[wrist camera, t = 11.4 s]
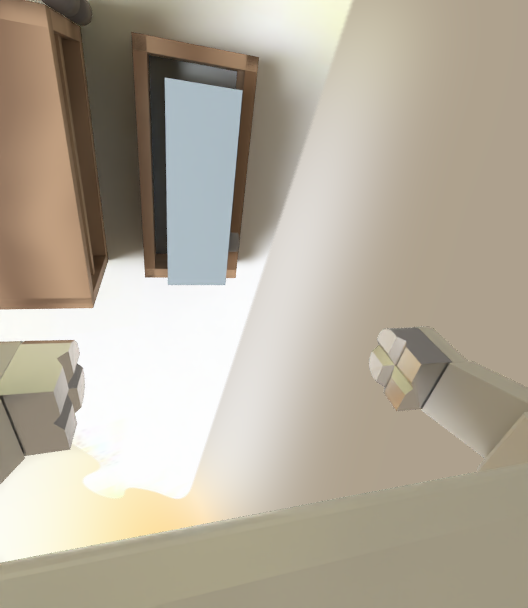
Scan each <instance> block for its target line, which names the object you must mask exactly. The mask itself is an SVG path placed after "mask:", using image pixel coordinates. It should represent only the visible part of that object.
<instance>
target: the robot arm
mask: <svg viewBox="0 0 528 608" xmlns="http://www.w3.org/2000/svg"><path fill="white" fill-rule="evenodd" d="M377 341H378V344H379V345H378V346H377V347H376V348H375V349H374V350H373V351H372V353H371V356H370V358H369V368H370V371H371V374H372V376H373V378H374V379H375V381H376V382H377V383H379V384H381V385H382V386H384V387H385V388H384V394H385V396H386V397H387V398H388V400H389V401H390V403H391V404H392V406H393V407H394V408H395V410H396V411H405V410H416V409H422V411H423V412H424V413H426V414H427V415H428V416H429V417H431V418H432V419H433V420H435V421H436V422H437V423H439V424H440V425H441V426H443V427H444V428H445V429H447V430H448V431H449V432H451V433H452V434H453V435H454V436H456V437H457V438H458V439H460V440H461V441H462V442H464V443H465V444H466V445H468V446H469V447H470V448H472V449H473V450H474V451H476V452H477V453H478V454H479V455H481V456H482V457H483V458H485V459H484V461H483V462H482V463H481V464H480V465H479V467H478V468H477V472H474V473H469V474H464V475H458V476H453V477H448V478H443V479H437V480H432V481H427V482H422V483H416V484H412V485H406V486H401V487H395V488H390V489H385V490H379V491H374V492H369V493H364V494H358V495H353V496H348V497H343V498H337V499H332V500H327V501H322V502H316V503H311V504H306V505H301V506H296V507H290V508H285V509H280V510H275V511H269V512H265V513H259V514H254V515H249V516H243V517H238V518H233V519H228V520H223V521H217V522H212V523H207V524H201V525H197V526H191V527H186V528H180V529H176V530H170V531H165V532H159V533H155V534H150V535H144V536H139V537H133V538H128V539H123V540H118V541H113V542H107V543H102V544H97V545H91V546H87V547H81V548H76V549H71V550H65V551H60V552H55V553H50V554H44V555H39V556H34V557H29V558H23V559H18V560H13V561H8V562H2V563H0V608H528V387H525V386H524V385H521V384H519V383H517V382H515V381H513V380H511V379H509V378H507V377H505V376H503V375H501V374H499V373H497V372H494V371H492V370H490V369H488V368H486V367H484V366H482V365H480V364H478V363H476V362H473V361H471V362H470V361H468V360H467V359H466V358H464V356H462V355H461V354H460V353H459V352H458V351H457V350H456V349H455V348H454V347H453V346H452V345H451V344H450V343H449V342H448V341H446V340H445V339H444V338H443V337H442V336H441V335H440V334H439V333H438V332H437V331H436V330H435V329H434V328H431V327H429V326H423V327H413V328H391V329H383V330H382V331H381V332H380V334H379V336H378V338H377ZM79 355H80V352H79V348H78V344H77V342H76V341H75V340H53V341H24V342H23V341H14V342H0V484H1V483H2V482H3V481H4V480H5V479H6V477H8V476H9V474H10V473H11V472H12V471H13V470H14V469H15V468H16V467H17V466H18V465H19V464H20V463H21V462H22V461H23V460H24V459H25V457H24V456H27V455H34V454H41V453H48V452H55V451H62V450H69V449H70V448H71V444H72V440H73V437H74V433H75V429H76V425H77V421H76V417H75V412H76V411H78V410H79V409H80V408H81V406H82V402H83V398H84V388H85V380H84V372H83V368H82V367H81V366H80V365H78V364H77V361H78V358H79Z"/></svg>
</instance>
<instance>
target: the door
mask: <svg viewBox="0 0 528 608" xmlns="http://www.w3.org/2000/svg"><path fill="white" fill-rule="evenodd" d="M242 92H243V90H237V89H231V88H225V87H219V86H213V85H207V84H201V83H195V82H189V81H183V80H177V79H171V78H165V126H166V190H167V255H168V285H225V282H226V271H227V260H228V252H238V249H239V234H238V233H230V226H231V215H232V204H233V193H234V181H235V170H236V159H237V148H238V136H239V125H240V114H241V103H242Z"/></svg>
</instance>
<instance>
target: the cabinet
mask: <svg viewBox="0 0 528 608" xmlns="http://www.w3.org/2000/svg"><path fill="white" fill-rule="evenodd" d="M42 1H43V2H44V3H45V4H46V5H48V6H49V7H48V6H46V5H45V4H40V3H35V2H30V1H25V0H0V309H56V308H93V307H94V303H95V300H96V297H97V294H98V291H99V288H100V285H101V281H102V278H103V275H104V272H105V269H106V266H107V263H108V255H107V247H106V238H105V230H104V222H103V213H102V205H101V197H100V188H99V180H98V171H97V163H96V155H95V146H94V138H93V130H92V121H91V113H90V105H89V96H88V88H87V79H86V71H85V63H84V54H83V46H82V38H81V29H80V26H78V25H81V26H85V25H87V24H89V23H90V21H91V19H92V10H91V7H90V5H89V3H88V2H87V1H86V0H42ZM50 7H51V8H52V9H51V8H50ZM53 9H54V10H55V11H54V10H53ZM56 11H57V12H56ZM59 13H60V14H59ZM61 14H62V15H64V16H65V17H64V16H62V15H61ZM67 18H68V19H67ZM69 19H70V20H71V21H70V20H69ZM72 21H73V22H74V23H73V22H72ZM75 23H76V24H75ZM77 24H78V25H77ZM131 35H132V52H133V70H134V88H135V105H136V123H137V141H138V159H139V176H140V194H141V212H142V229H143V247H144V265H145V277H168V255H167V254H158V253H156V243H155V215H154V187H153V159H152V131H151V103H150V75H149V55H151V56H157V57H162V58H167V59H173V60H178V61H184V62H189V63H195V64H200V65H206V66H211V67H217V68H222V69H228V70H233V71H237V80H236V89H237V90H243V92H242V103H241V114H240V125H239V136H238V148H237V159H236V170H235V181H234V193H233V204H232V215H231V226H230V233H238V234H239V240H240V230H241V221H242V212H243V202H244V193H245V183H246V174H247V164H248V155H249V146H250V136H251V127H252V117H253V108H254V99H255V89H256V80H257V70H258V61H259V57H255V56H250V55H245V54H240V53H234V52H229V51H224V50H219V49H214V48H209V47H204V46H199V45H194V44H189V43H184V42H179V41H174V40H169V39H164V38H159V37H154V36H149V35H144V34H139V33H134V32H131ZM237 259H238V252H228V260H227V271H226V278H235V277H236V268H237Z"/></svg>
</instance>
